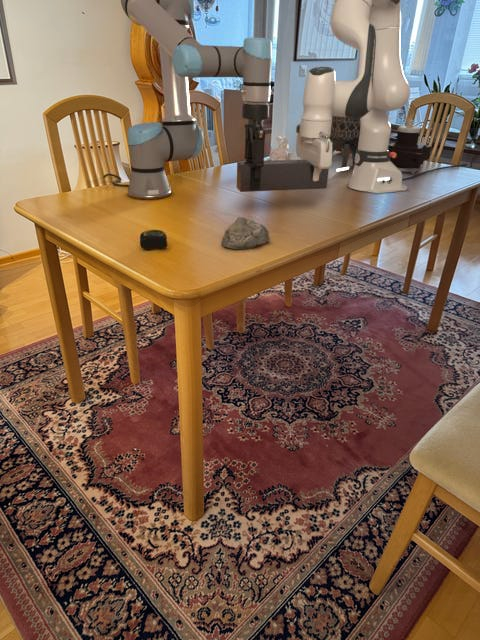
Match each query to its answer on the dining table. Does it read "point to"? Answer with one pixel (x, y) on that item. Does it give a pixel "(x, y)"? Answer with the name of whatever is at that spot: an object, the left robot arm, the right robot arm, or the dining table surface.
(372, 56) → the right robot arm
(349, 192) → the dining table surface
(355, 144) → the planter
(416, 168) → the mechanical component
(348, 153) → the toy
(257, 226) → the rock
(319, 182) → the bar
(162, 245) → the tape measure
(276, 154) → the figurine
